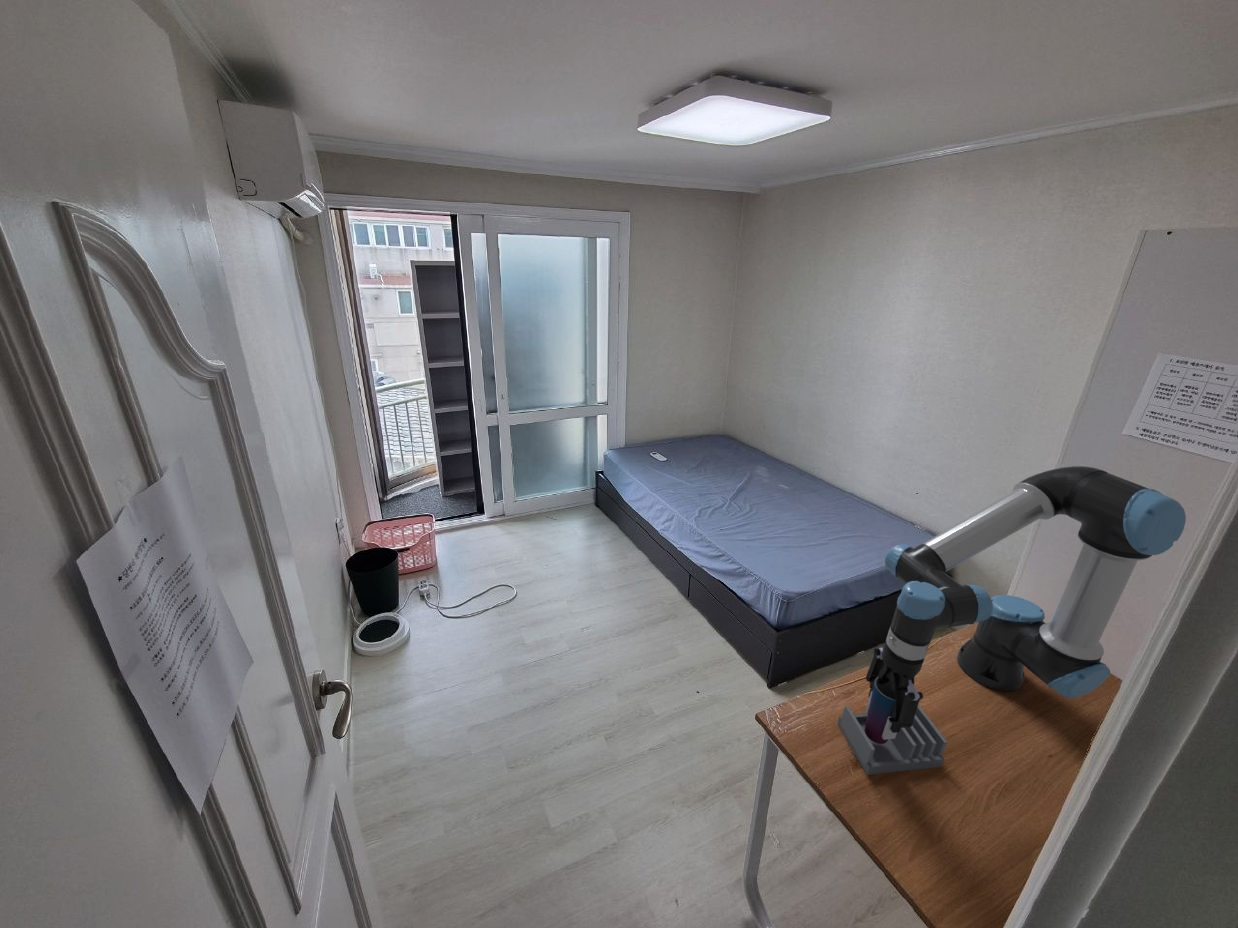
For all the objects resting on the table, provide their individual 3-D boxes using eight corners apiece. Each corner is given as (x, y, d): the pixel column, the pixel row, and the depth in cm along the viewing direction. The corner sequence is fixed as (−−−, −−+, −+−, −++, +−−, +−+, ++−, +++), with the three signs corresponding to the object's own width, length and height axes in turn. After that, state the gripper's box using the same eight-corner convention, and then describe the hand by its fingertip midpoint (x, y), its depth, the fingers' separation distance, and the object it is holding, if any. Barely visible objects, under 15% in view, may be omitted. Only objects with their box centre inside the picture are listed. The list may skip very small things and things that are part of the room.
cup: (896, 750, 112) (913, 703, 106) (864, 744, 113) (879, 697, 107) (887, 724, 118) (903, 678, 112) (857, 718, 120) (871, 673, 113)
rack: (905, 716, 125) (912, 696, 122) (941, 766, 113) (950, 745, 110) (837, 723, 123) (843, 702, 120) (866, 774, 111) (873, 753, 108)
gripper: (863, 618, 113) (842, 691, 123) (917, 686, 96) (888, 765, 106) (894, 616, 114) (871, 689, 123) (953, 683, 97) (921, 761, 106)
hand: (879, 724), depth 115 cm, fingers closed on cup, 6 cm apart
